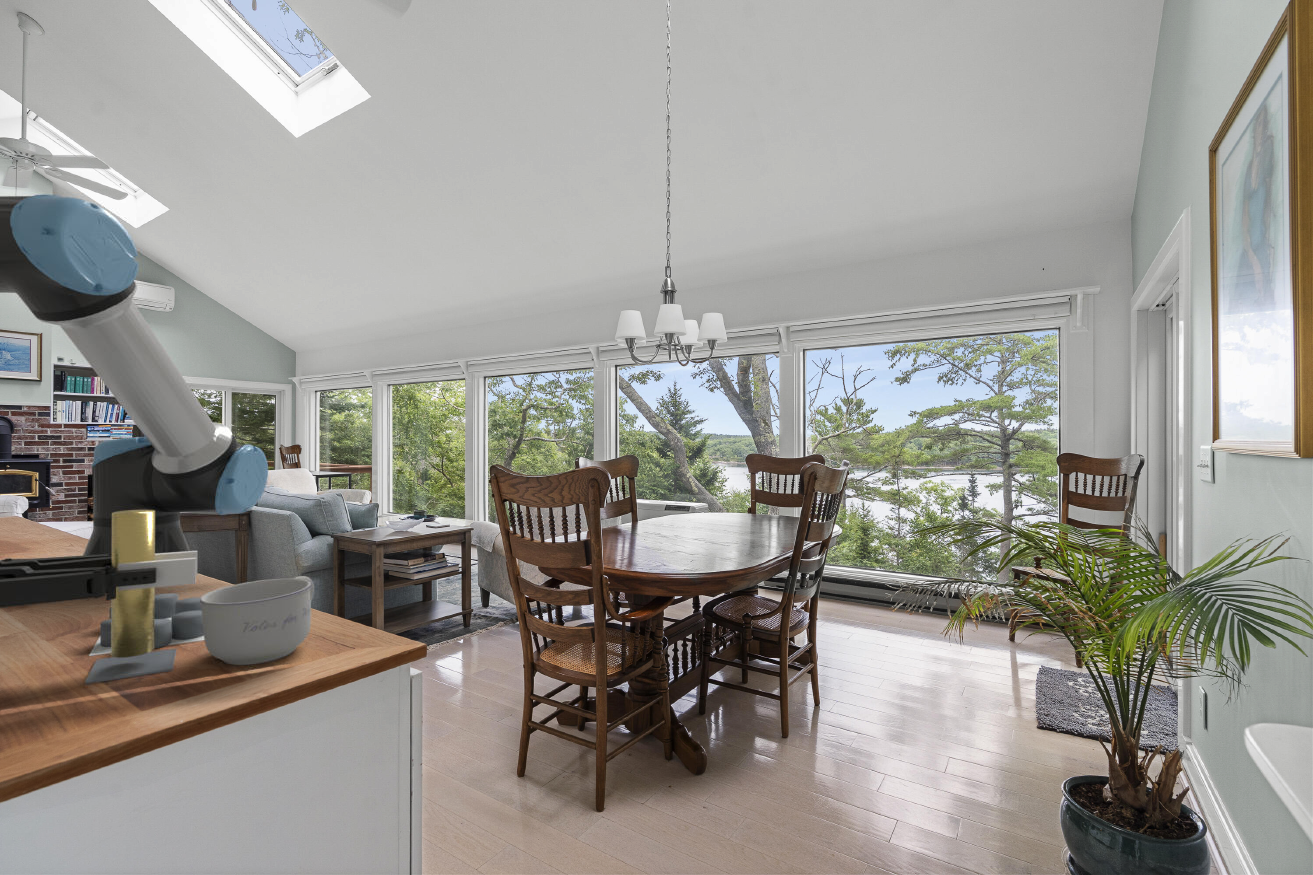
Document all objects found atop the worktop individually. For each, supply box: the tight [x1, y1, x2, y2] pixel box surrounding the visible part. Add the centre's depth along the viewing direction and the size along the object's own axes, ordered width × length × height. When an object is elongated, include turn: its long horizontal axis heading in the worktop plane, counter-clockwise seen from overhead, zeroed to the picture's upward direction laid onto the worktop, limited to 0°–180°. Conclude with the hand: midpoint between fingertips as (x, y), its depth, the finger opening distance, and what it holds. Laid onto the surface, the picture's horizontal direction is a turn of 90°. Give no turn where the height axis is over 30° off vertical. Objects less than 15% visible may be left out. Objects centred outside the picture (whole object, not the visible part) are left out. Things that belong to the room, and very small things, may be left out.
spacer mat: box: [88, 593, 205, 657], centre depth 82 cm, size 17×11×3 cm, turn 33°
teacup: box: [200, 575, 315, 666], centre depth 76 cm, size 14×11×8 cm
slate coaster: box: [84, 648, 178, 685], centre depth 70 cm, size 7×7×1 cm
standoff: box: [110, 510, 156, 658], centre depth 70 cm, size 4×4×15 cm
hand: (195, 566), depth 73 cm, fingers closed on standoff, 4 cm apart
